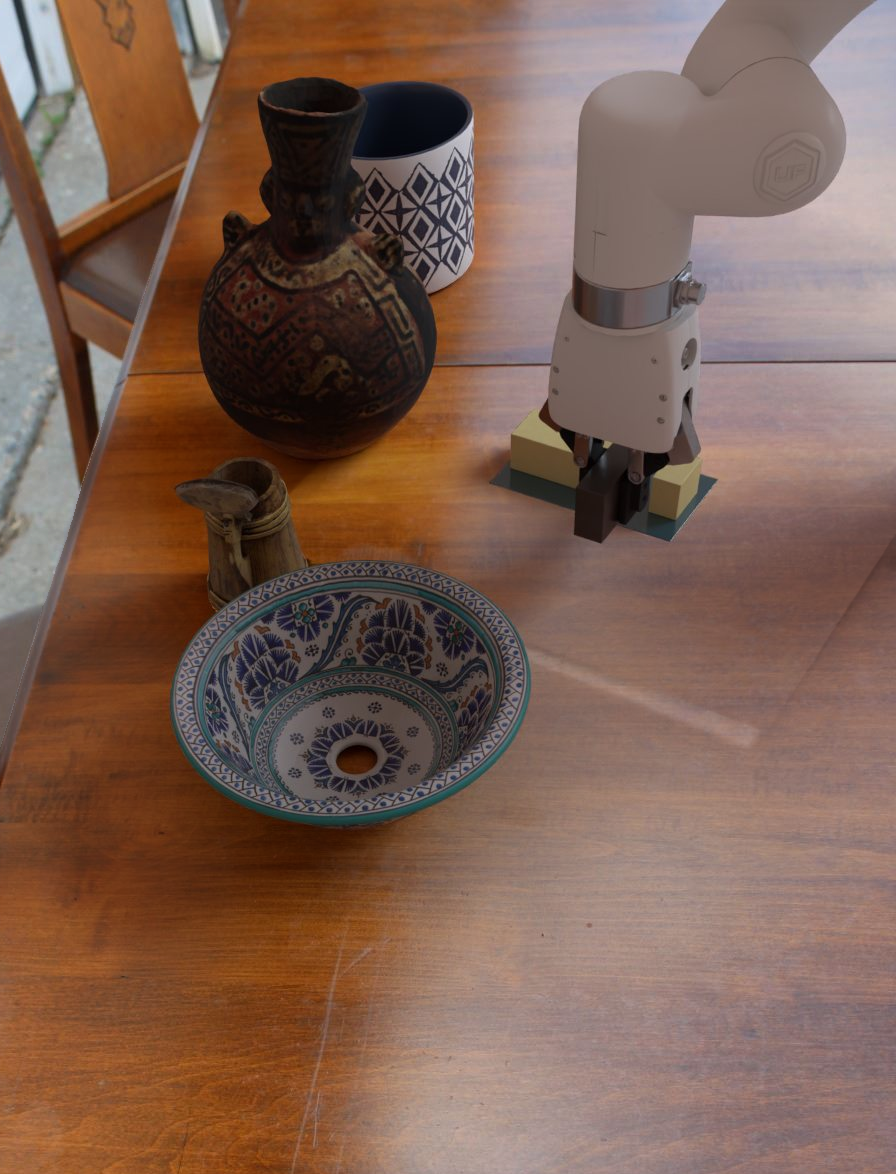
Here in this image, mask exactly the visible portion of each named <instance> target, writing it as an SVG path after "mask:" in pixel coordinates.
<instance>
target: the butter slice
mask: <svg viewBox="0 0 896 1174" xmlns="http://www.w3.org/2000/svg"><path fill="white" fill-rule="evenodd" d="M702 464H703V457H700V456H697V457H696V458H695V459H694V461H693V462H692V463H689V464H682V465H674V466H672V465H667V466H665V467H664V468H663V469H661V470H659V471H657V472H656V474H655V475H654V476H653V478H652V486H651V495H650V503H649V512H651V513H654V514H657V515H660V516H664V517H667V518H670V519H673V520H676V519H677V518H678V517H679V515H680V514H681V513H682V512H683V510H684V509H685V508H686V506H687V505H688V504H689V503H690V501H691V500H692V499H693V497H694V496H695V495H696V494H697V490H698V483H699V477H700V474H701V471H702V470H701V469H702Z"/></svg>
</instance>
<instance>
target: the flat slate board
mask: <svg viewBox="0 0 896 1174" xmlns="http://www.w3.org/2000/svg"><path fill="white" fill-rule="evenodd" d="M655 474H656V472H655V473H654V474H652V475H651V477H650V487H649V497H648V501H647V504H646V506H645V507H644V509H643V510H642V511H641V512H636V513H635V515H634V516H633V517H632V518H631V520H630V521H629V522H628V523H627V525H623V524H619V522H618V523H617V525H616V526H620V527H622V528H626V529H629V530H632V531H634V532H638V533H641V534H645V535H648V536H650V537H653V538H656V539H659V540H663V541H666V542H669V543H670V542H671V543H672V541H673V540H674V538H675V537H676V536H677V534H678V533H679V532H680V530H681V529H682V528H683V527H684V525H685V524H686V523H687V521H688V520H689V519H690V517H691V516H692V515H693V514H694V512H695V511H696V509H697V508H698V507H699V506H700V505H701V503H702V502H703V501H704V499H705V498H706V497H707V496H708V494H709V493H710V491H712V489H713V488H714V486H715V485H716V484H717V482H718V481H719V479H718V478H715V477H711V476H708V475H705V474H701V473H700V477H699V483H698V490H697V494H696V495H695V496H694V497H693V499H692V500H691V501H690V503H689V504H688V505H687V506H686V508H685V509H684V510H683V512H682V513H681V514H680V515H679V517H678V518H677V519H676V520H673V519H670V518H667V517H664V516H660V515H657V514H654V513H651V512H649V503H650V495H651V486H652V478H653V476H654V475H655ZM489 484H491V485H493V486H497V487H500V488H503V489H506V490H510V491H513V492H516V493H518V494H522V495H524V496H527V497H531V498H535V499H537V500H540V501H543V502H546V503H549V504H553V505H555V506H558V507H561V508H564V509H568V510H570V511H574V512H575V494H576V489H575V488H572V487H569V486H565V485H562V484H559V483H556V482H553V481H550V480H547V479H543V478H540V477H537V476H534V475H531V474H528V473H525V472H521V471H518V470H515V469H512V468H510V459H509V461H507V463H506V464H505V465H504V466H502V468H501V469H500V470H499V471H498V473H497V474H496V475H495V476H494V477H493V478H492V479H491V480H490V482H489Z"/></svg>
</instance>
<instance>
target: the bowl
mask: <svg viewBox="0 0 896 1174" xmlns="http://www.w3.org/2000/svg"><path fill="white" fill-rule="evenodd" d="M531 673H532V672H531V666H530V661H529V656H528V653H527V650H526V647H525V643H524V641H523V639H522V637H521V635H520V633H519V632H518V630H517V629H516V627H515V625H514V623H513V621H511V620H510V618H509V617H508V616H507V615H506V614H505V612H504V611H503V610H502V609H501V608H500V607H499V606H498V605H497V604H495V602H494V601H493V600H491V599H490V598H489V597H487V596H486V595H485V594H484V593H482V592H480V591H479V590H478V589H476V588H474V587H472V586H471V585H469V584H467V583H466V582H464V581H461V580H460V579H458V578H456V577H453V576H451V575H448V574H446V573H443V572H441V571H437V570H434V569H431V568H428V567H425V566H420V565H416V564H413V563H405V562H400V561H390V560H381V559H379V560H378V559H357V560H353V559H352V560H341V561H333V562H332V561H331V562H327V563H321V564H314V565H310V566H308V567H306V568H302V569H298V570H295V571H292V572H289V573H285V574H283V575H280V576H278V577H275V578H272V579H270V580H268V581H266V582H263V583H261V584H259V585H257V586H255V587H253V588H251V589H250V590H248V591H246V592H244V593H243V594H241V595H239V596H238V597H236V598H235V599H233V600H232V601H230V602H229V603H228V604H227V605H225V606H224V607H223V608H221V609H220V610H219V611H218V612H215V613H214V614H213V615H212V616H211V617H210V618H209V619H207V621H206V622H204V624H203V625H202V626H201V627H200V628H199V629H198V631H197V632H196V633H195V634H194V636H193V637H192V639H190V641H189V643H188V644H187V645H186V647H185V648H184V651H183V652H182V654H181V656H180V658H179V661H178V663H177V665H176V668H175V671H174V674H173V676H172V681H171V686H170V694H169V711H170V712H169V713H170V721H171V725H172V730H173V733H174V736H175V739H176V741H177V744H178V746H179V748H180V749H181V751H182V753H183V755H184V757H185V758H186V760H187V762H188V763H189V764H190V765H191V767H192V769H193V770H194V771H195V772H196V773H197V774H198V775H199V776H200V777H201V779H203V780H204V781H205V782H206V783H207V784H209V785H210V786H211V787H212V788H213V789H214V790H215V791H217V792H218V793H220V794H222V795H223V796H224V797H226V798H227V799H229V800H231V801H233V802H235V803H236V804H238V805H240V806H243V807H244V808H246V809H249V810H251V811H254V812H256V813H259V814H262V815H265V816H268V817H271V818H275V819H279V820H284V821H287V822H292V823H297V824H298V823H299V824H306V825H309V826H313V827H316V828H317V827H318V828H324V829H330V830H360V829H361V830H363V829H370V828H375V827H381V826H385V825H388V824H391V823H395V822H397V821H400V820H403V819H405V818H407V817H410V816H412V815H414V814H416V813H418V812H420V811H422V810H425V809H427V808H429V807H432V806H434V805H437V804H439V803H441V802H444V801H445V800H447V799H449V798H450V797H452V796H454V795H456V794H457V793H459V792H461V791H462V790H464V789H466V788H467V787H469V786H470V785H471V784H472V783H474V782H475V781H476V780H478V779H479V778H481V777H482V776H483V775H484V774H485V773H486V772H487V771H488V770H489V769H490V768H492V767H493V766H494V765H495V764H496V763H497V761H499V760H500V758H501V757H502V756H503V755H504V753H505V752H506V751H507V750H508V748H509V747H510V745H511V744H512V742H513V741H514V739H515V738H516V736H517V734H518V732H519V730H520V728H521V726H522V725H523V722H524V719H525V716H526V713H527V711H528V706H529V702H530V698H531V688H532V676H531V675H532V674H531ZM353 746H364V747H367V748H370V749H371V750H372V751H374V752H375V754H376V756H377V761H376V763H375V765H374V766H373V768H371V769H370V770H368V771H366V772H362V773H358V774H356V773H355V774H352V773H347V772H344V771H343V770H342V769H340V768H339V766H338V764H337V759H338V756H339V755H340V754H341V752H342V751H344V750H345V749H347V748H350V747H353Z"/></svg>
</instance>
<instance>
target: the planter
mask: <svg viewBox="0 0 896 1174" xmlns="http://www.w3.org/2000/svg"><path fill="white" fill-rule="evenodd" d="M355 89H356V90H358V91H360V93H361V94H363V95H365V96H366V98H367V100H368V108H367V112H366V116H365V119H364V120H363V123H362V126H361V129H360V131H359V134H358V137H357V140H356V142H355V145H354V148H353V154H352V159H351V165H352V167H353V169H354V170H356V171H357V172H358V173H359V175H360V176H361V177H362V179H363V181H364V183H365V186H366V198H365V202H364V204H363V205H362V207H361V209H360V210H359V211H358V212H357V213H356V214H355V215H354V217H353V218H352V219H351V220H352V221H354V222H356V223H358V224H359V225H361V226H363V227H365V228H366V229H368V230H369V231H371V232H373V233H374V234H376V235H378V234H383V233H391V234H394V235H396V236H398V237H399V238H400V239H401V240H402V242H403V245H404V252H405V255H404V258H405V259H406V260H407V261H408V262H409V264H410V265H411V266H412V267H413V268H414V269H415V271H416V272H417V274H418V275H419V277H420V279H421V280H422V282H423V284H424V286H425V289H426V291H427V294H428V295H430V294H434V293H436V292H438V291H441V290H443V289H444V288H446V287H448V286H450V285H451V284H453V283H455V282H456V281H457V280H459V278H461V277H462V276H464V274H465V273H466V272H467V271H468V270H469V268H470V266H471V264H472V263H473V260H474V257H475V145H474V144H475V140H474V139H475V136H474V135H475V134H474V133H475V132H474V128H475V127H474V108H473V106H472V104H471V102H470V101H469V100H468V98H467V97H466V96H465V95H464V94H462V93H461V92H459V91H457V90H455V89H453V88H451V87H448V86H446V85H443V84H438V83H434V82H427V81H420V80H419V81H417V80H396V81H387V82H381V83H374V84H370V85H365V86H362V87H359V88H355Z"/></svg>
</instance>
